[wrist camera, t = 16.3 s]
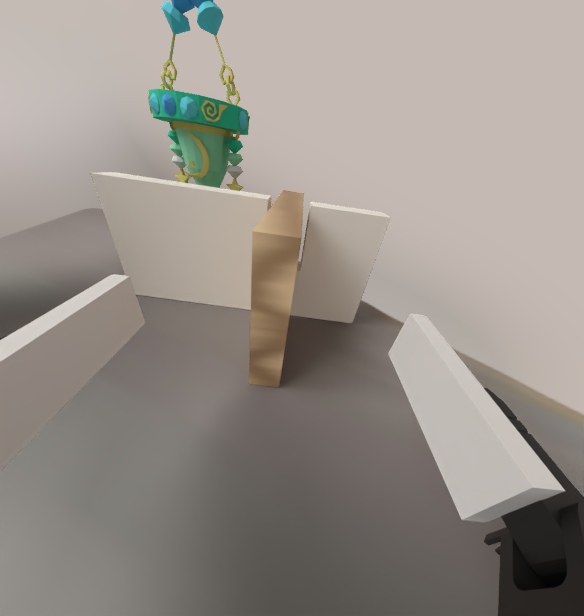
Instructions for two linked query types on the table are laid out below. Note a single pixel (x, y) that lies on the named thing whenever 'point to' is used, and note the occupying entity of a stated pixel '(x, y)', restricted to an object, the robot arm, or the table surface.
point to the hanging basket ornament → (200, 110)
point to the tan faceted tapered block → (273, 286)
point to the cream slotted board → (233, 245)
